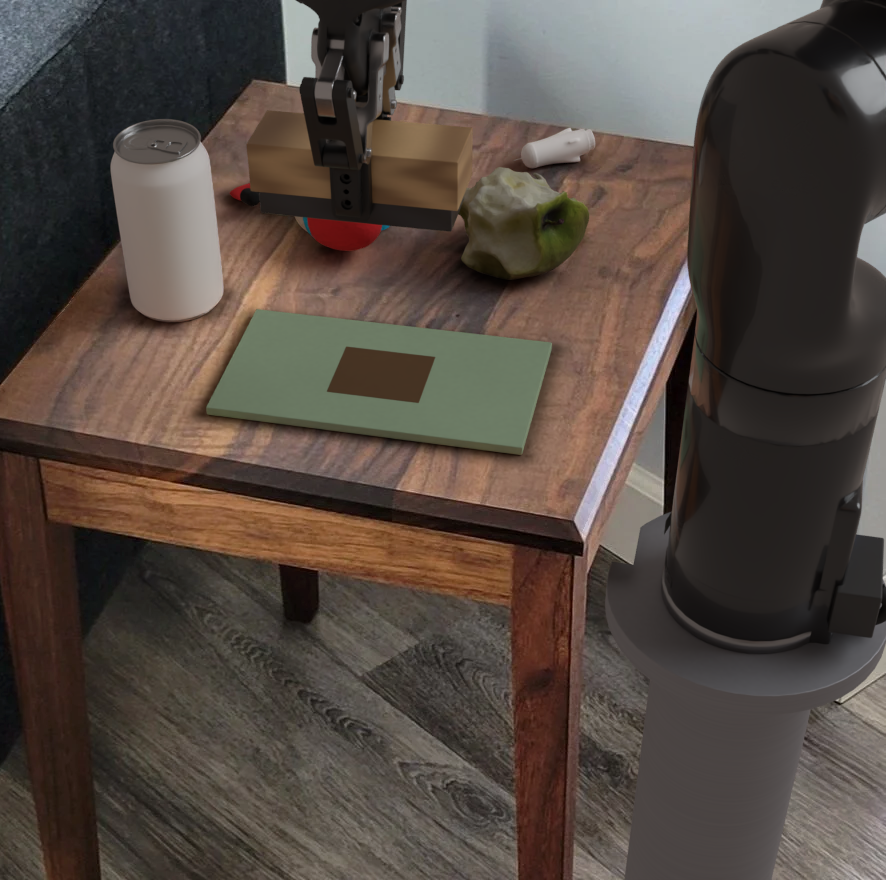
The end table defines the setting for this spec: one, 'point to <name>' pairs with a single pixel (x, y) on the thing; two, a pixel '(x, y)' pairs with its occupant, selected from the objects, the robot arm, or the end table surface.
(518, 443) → the mat
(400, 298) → the end table surface
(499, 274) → the fruit
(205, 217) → the can
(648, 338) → the end table surface
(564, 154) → the small white plastic part
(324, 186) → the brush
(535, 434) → the end table surface
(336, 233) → the toy figure
